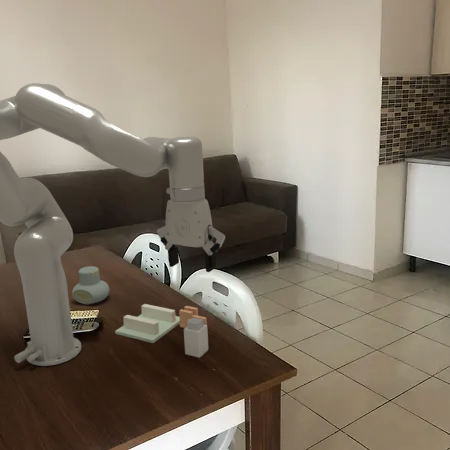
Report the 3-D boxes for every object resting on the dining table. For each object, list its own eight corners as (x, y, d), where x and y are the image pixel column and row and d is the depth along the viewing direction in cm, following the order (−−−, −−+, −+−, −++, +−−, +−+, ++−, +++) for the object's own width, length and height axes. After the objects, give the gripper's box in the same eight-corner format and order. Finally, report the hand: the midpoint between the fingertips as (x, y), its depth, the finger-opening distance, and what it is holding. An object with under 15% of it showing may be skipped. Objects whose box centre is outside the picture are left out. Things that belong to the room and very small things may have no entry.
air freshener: (115, 297, 151) (112, 266, 148) (99, 308, 143) (96, 275, 141) (84, 293, 154) (81, 263, 152) (68, 303, 147) (64, 272, 144)
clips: (200, 340, 122) (199, 323, 121) (171, 333, 126) (170, 316, 125) (215, 327, 129) (214, 311, 128) (187, 321, 133) (186, 305, 132)
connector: (199, 357, 114) (198, 326, 112) (185, 353, 116) (183, 322, 114) (208, 349, 118) (206, 319, 116) (194, 346, 119) (192, 316, 117)
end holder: (153, 343, 122) (152, 329, 121) (115, 333, 127) (114, 320, 126) (183, 320, 133) (183, 307, 132) (148, 312, 139) (147, 300, 138)
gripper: (145, 195, 109) (151, 268, 113) (214, 199, 101) (217, 278, 106) (164, 189, 115) (169, 258, 120) (230, 193, 108) (233, 266, 112)
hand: (192, 267), depth 113 cm, fingers open, 9 cm apart
